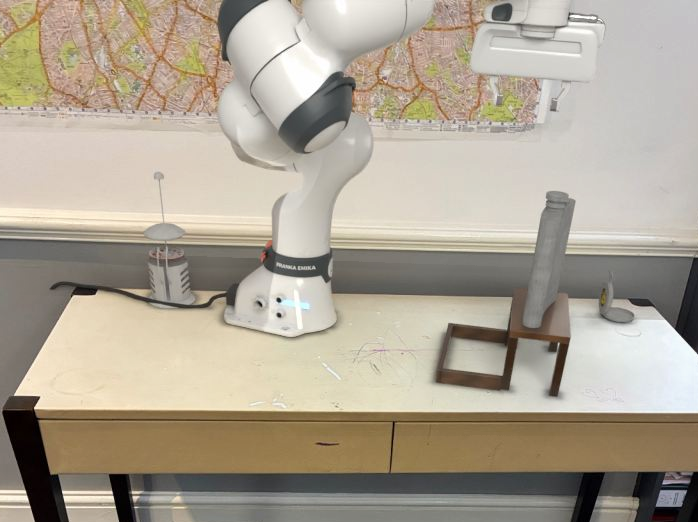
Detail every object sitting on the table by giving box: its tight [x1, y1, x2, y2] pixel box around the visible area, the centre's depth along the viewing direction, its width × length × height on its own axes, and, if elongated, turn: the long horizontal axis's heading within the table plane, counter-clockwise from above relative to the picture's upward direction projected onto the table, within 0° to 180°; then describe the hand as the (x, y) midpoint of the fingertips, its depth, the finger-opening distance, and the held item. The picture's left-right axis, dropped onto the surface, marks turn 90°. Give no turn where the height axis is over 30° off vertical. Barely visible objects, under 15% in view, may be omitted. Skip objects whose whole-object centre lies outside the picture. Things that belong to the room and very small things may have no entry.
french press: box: [143, 171, 197, 309], centre depth 154 cm, size 10×12×25 cm
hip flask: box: [522, 190, 577, 328], centre depth 132 cm, size 16×4×20 cm, turn 158°
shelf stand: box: [435, 287, 572, 398], centre depth 142 cm, size 22×21×11 cm
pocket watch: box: [598, 269, 636, 323], centre depth 164 cm, size 8×8×10 cm
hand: (525, 108), depth 130 cm, fingers open, 8 cm apart
